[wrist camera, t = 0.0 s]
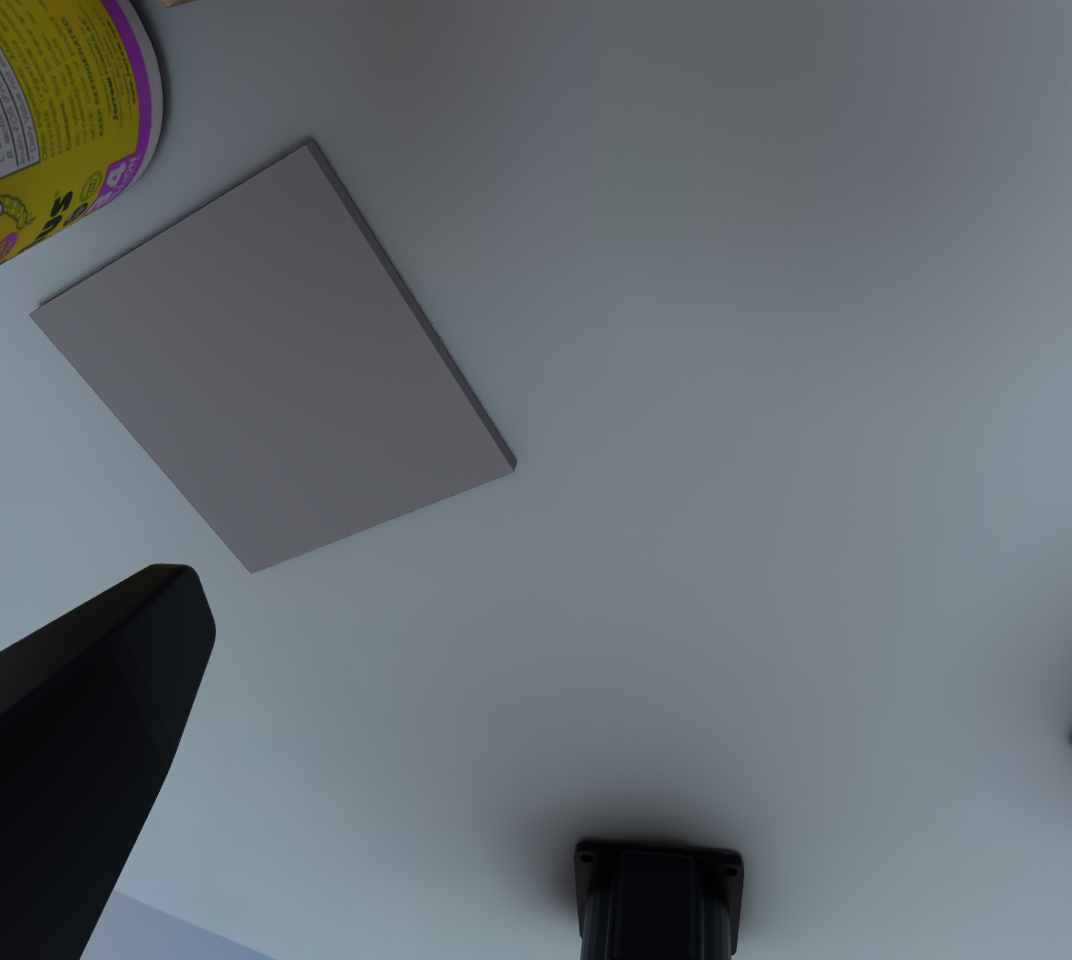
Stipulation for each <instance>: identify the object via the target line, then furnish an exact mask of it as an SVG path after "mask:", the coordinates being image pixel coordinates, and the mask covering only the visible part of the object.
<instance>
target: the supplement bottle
mask: <svg viewBox="0 0 1072 960" xmlns="http://www.w3.org/2000/svg"><path fill="white" fill-rule="evenodd" d="M162 114H163V96H162V84H161V77H160V72H159V67H158V63H157V59H156V55H155V52H154V49H153V47H152V44H151V42H150V39H149V37H148V35H147V33H146V31H145V29H144V27H143V24H142V22H141V20H140V18H139V17H138V15H137V13H136V11H135V9H134V8H133V6H132V4H131V2H130V1H129V0H0V265H1V264H3V263H4V262H6V261H8V260H10V259H12V258H13V257H15V256H17V255H19V254H20V253H22V252H24V251H26V250H27V249H29V248H31V247H33V246H35V245H37V244H39V243H40V242H42V241H44V240H45V239H47V238H50V237H52V236H53V235H54V234H56V233H58V232H60V231H61V230H63V229H65V228H67V227H68V226H70V225H72V224H74V223H75V222H77V221H79V220H81V219H82V218H84V217H86V216H88V215H89V214H91V213H93V212H95V211H96V210H98V209H100V208H101V207H103V206H104V205H106V204H108V203H109V202H111V201H112V200H114V199H115V198H117V197H118V196H120V195H121V194H122V193H124V192H125V191H126V190H127V189H129V188H130V187H131V186H132V185H133V184H134V183H135V182H136V181H137V180H138V179H139V177H140V176H141V175H142V173H143V172H144V171H145V169H146V167H147V165H148V164H149V162H150V160H151V158H152V156H153V154H154V152H155V148H156V145H157V142H158V139H159V135H160V131H161V125H162Z"/></svg>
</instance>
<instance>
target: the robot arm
mask: <svg viewBox="0 0 1072 960" xmlns="http://www.w3.org/2000/svg"><path fill="white" fill-rule="evenodd" d="M215 637H216V627H215V621H214V618H213V615H212V612H211V610H210V607H209V604H208V601H207V598H206V596H205V593H204V590H203V587H202V585H201V582H200V579H199V576H198V574H197V572H196V571H195V570H194V569H193V568H192V567H190V566H188V565H184V564H153V565H150V566H148V567H146V568H144V569H142V570H141V571H139V572H137V573H135V574H134V575H132V576H130V577H128V578H127V579H125V580H123V581H122V582H120V583H118V584H116V585H115V586H113V587H111V588H109V589H108V590H106V591H104V592H102V593H101V594H99V595H97V596H96V597H94V598H92V599H90V600H89V601H87V602H85V603H83V604H82V605H80V606H78V607H77V608H75V609H73V610H71V611H70V612H68V613H66V614H64V615H63V616H61V617H59V618H57V619H56V620H54V621H52V622H51V623H49V624H47V625H45V626H44V627H42V628H40V629H38V630H37V631H35V632H33V633H31V634H30V635H28V636H26V637H25V638H23V639H21V640H19V641H18V642H16V643H14V644H12V645H11V646H9V647H7V648H5V649H4V650H2V651H0V960H80V957H81V955H82V953H83V951H84V949H85V947H86V945H87V942H88V941H89V939H90V937H91V934H92V932H93V930H94V928H95V926H96V924H97V921H98V920H99V917H100V916H101V914H102V911H103V909H104V907H105V905H106V903H107V901H108V899H109V897H110V895H111V892H112V890H113V888H114V886H115V884H116V882H117V880H118V878H119V876H120V874H121V872H122V869H123V867H124V865H125V863H126V861H127V859H128V857H129V855H130V853H131V851H132V849H133V846H134V844H135V842H136V840H137V838H138V836H139V834H140V832H141V830H142V828H143V825H144V823H145V821H146V819H147V817H148V815H149V813H150V811H151V809H152V807H153V804H154V802H155V800H156V798H157V796H158V794H159V792H160V790H161V787H162V785H163V783H164V781H165V778H166V776H167V774H168V772H169V769H170V767H171V764H172V761H173V759H174V756H175V754H176V751H177V748H178V746H179V743H180V740H181V737H182V734H183V731H184V729H185V726H186V723H187V720H188V717H189V714H190V712H191V709H192V706H193V703H194V700H195V697H196V695H197V692H198V689H199V686H200V683H201V681H202V678H203V675H204V672H205V669H206V666H207V664H208V661H209V658H210V655H211V652H212V649H213V646H214V643H215ZM574 864H575V877H576V891H577V904H578V917H579V930H580V936H581V938H582V947H581V957H580V960H731V956H733V955H734V954H735V953H736V949H737V939H738V929H739V919H740V910H741V900H742V890H743V880H744V863H743V860H742V859H741V858H740V857H738V856H736V855H731V854H720V853H708V852H697V851H686V850H675V849H664V848H653V847H642V846H630V845H619V844H608V843H597V842H580V843H578V844H577V845H576V847H575V853H574Z"/></svg>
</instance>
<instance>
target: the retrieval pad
mask: <svg viewBox="0 0 1072 960" xmlns="http://www.w3.org/2000/svg"><path fill="white" fill-rule="evenodd" d="M29 316H30V317H31V318H32V319H33V320H34V322H35V323H36V324H37V325H38V326H39V327H40V329H41V330H42V331H43V332H44V333H45V334H46V336H47V337H48V338H49V339H50V340H51V341H52V343H53V344H54V345H55V346H56V347H57V348H58V350H59V351H60V352H61V353H62V354H63V355H64V357H65V358H66V359H67V360H68V361H69V362H70V364H71V365H72V366H73V367H74V368H75V369H76V371H77V372H78V373H79V374H80V375H81V376H82V378H83V379H84V380H85V381H86V382H87V383H88V385H89V386H90V387H91V388H92V389H93V390H94V392H95V393H96V394H97V395H98V396H99V397H100V399H101V400H102V401H103V402H104V403H105V404H106V406H107V407H108V408H109V409H110V410H111V411H112V413H113V414H114V415H115V416H116V417H117V418H118V420H119V421H120V422H121V423H122V424H123V425H124V427H125V428H126V429H127V430H128V431H129V432H130V434H131V435H132V436H133V437H134V438H135V439H136V441H137V442H138V443H139V444H140V445H141V446H142V448H143V449H144V450H145V451H146V452H147V453H148V455H149V456H150V457H151V458H152V459H153V460H154V462H155V463H156V464H157V465H158V466H159V467H160V469H161V470H162V471H163V472H164V473H165V474H166V476H167V477H168V478H169V479H170V480H171V481H172V483H173V484H174V485H175V486H176V487H177V488H178V489H179V491H180V492H181V493H182V494H183V495H184V496H185V498H186V499H187V500H188V501H189V502H190V503H191V505H192V506H193V507H194V508H195V509H196V510H197V512H198V513H199V514H200V515H201V516H202V517H203V519H204V520H205V521H206V522H207V523H208V524H209V526H210V527H211V528H212V529H213V530H214V531H215V533H216V534H217V535H218V536H219V537H220V538H221V540H222V541H223V542H224V543H225V544H226V545H227V547H228V548H229V549H230V550H231V551H232V552H233V554H234V555H235V556H236V557H237V558H238V559H239V561H240V562H241V563H242V564H243V565H244V566H245V568H246V569H247V570H248V571H249V572H250V573H251V574H252V573H255V572H257V571H260V570H262V569H265V568H268V567H270V566H273V565H275V564H278V563H280V562H283V561H286V560H288V559H291V558H293V557H296V556H298V555H301V554H304V553H306V552H309V551H311V550H314V549H316V548H319V547H322V546H324V545H327V544H329V543H332V542H334V541H337V540H340V539H342V538H345V537H347V536H350V535H353V534H355V533H358V532H360V531H363V530H365V529H368V528H371V527H373V526H376V525H378V524H381V523H383V522H386V521H389V520H391V519H394V518H396V517H399V516H401V515H404V514H407V513H409V512H412V511H414V510H417V509H419V508H422V507H425V506H427V505H430V504H432V503H435V502H437V501H440V500H443V499H445V498H448V497H450V496H453V495H455V494H458V493H461V492H463V491H466V490H468V489H471V488H473V487H476V486H479V485H481V484H484V483H486V482H489V481H491V480H494V479H497V478H499V477H502V476H504V475H507V474H509V473H512V472H514V470H515V467H516V463H517V462H516V460H515V458H514V457H513V455H512V454H511V452H510V451H509V449H508V447H507V446H506V444H505V443H504V441H503V439H502V438H501V436H500V435H499V433H498V432H497V430H496V428H495V427H494V425H493V424H492V422H491V420H490V419H489V417H488V416H487V414H486V413H485V411H484V409H483V408H482V406H481V405H480V403H479V402H478V400H477V398H476V397H475V395H474V394H473V392H472V390H471V389H470V387H469V386H468V384H467V383H466V381H465V379H464V378H463V376H462V375H461V373H460V371H459V370H458V368H457V367H456V365H455V364H454V362H453V360H452V359H451V357H450V356H449V354H448V352H447V351H446V349H445V348H444V346H443V345H442V343H441V341H440V340H439V338H438V337H437V335H436V333H435V332H434V330H433V329H432V327H431V326H430V324H429V322H428V321H427V319H426V318H425V316H424V314H423V313H422V311H421V310H420V308H419V307H418V305H417V303H416V302H415V300H414V299H413V297H412V296H411V294H410V292H409V291H408V289H407V288H406V286H405V284H404V283H403V281H402V280H401V278H400V277H399V275H398V273H397V272H396V270H395V269H394V267H393V265H392V264H391V262H390V261H389V259H388V258H387V256H386V254H385V253H384V251H383V250H382V248H381V246H380V245H379V243H378V242H377V240H376V239H375V237H374V235H373V234H372V232H371V231H370V229H369V227H368V226H367V224H366V223H365V221H364V220H363V218H362V216H361V215H360V213H359V212H358V210H357V209H356V207H355V205H354V204H353V202H352V201H351V199H350V197H349V196H348V194H347V193H346V191H345V190H344V188H343V186H342V185H341V183H340V182H339V180H338V178H337V177H336V175H335V174H334V172H333V171H332V169H331V167H330V166H329V164H328V163H327V161H326V159H325V158H324V156H323V155H322V153H321V152H320V150H319V148H318V147H317V145H316V144H315V142H314V140H312V141H310V142H308V143H307V144H305V145H303V146H302V147H300V148H299V149H297V150H295V151H294V152H292V153H290V154H289V155H287V156H286V157H284V158H282V159H281V160H279V161H277V162H276V163H274V164H272V165H271V166H269V167H268V168H266V169H264V170H263V171H261V172H259V173H258V174H256V175H255V176H253V177H251V178H250V179H248V180H246V181H245V182H243V183H242V184H240V185H238V186H237V187H235V188H233V189H232V190H230V191H228V192H227V193H225V194H224V195H222V196H220V197H219V198H217V199H215V200H214V201H212V202H211V203H209V204H207V205H206V206H204V207H202V208H201V209H199V210H197V211H196V212H194V213H193V214H191V215H189V216H188V217H186V218H184V219H183V220H181V221H180V222H178V223H176V224H175V225H173V226H171V227H170V228H168V229H167V230H165V231H163V232H162V233H160V234H158V235H157V236H155V237H153V238H152V239H150V240H149V241H147V242H145V243H144V244H142V245H140V246H139V247H137V248H136V249H134V250H132V251H131V252H129V253H127V254H126V255H124V256H122V257H121V258H119V259H118V260H116V261H114V262H113V263H111V264H109V265H108V266H106V267H105V268H103V269H101V270H100V271H98V272H96V273H95V274H93V275H92V276H90V277H88V278H87V279H85V280H83V281H82V282H80V283H78V284H77V285H75V286H74V287H72V288H70V289H69V290H67V291H65V292H64V293H62V294H61V295H59V296H57V297H56V298H54V299H52V300H51V301H49V302H47V303H46V304H44V305H43V306H41V307H39V308H38V309H36V310H35V311H33V312H32V313H30V314H29Z"/></svg>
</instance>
